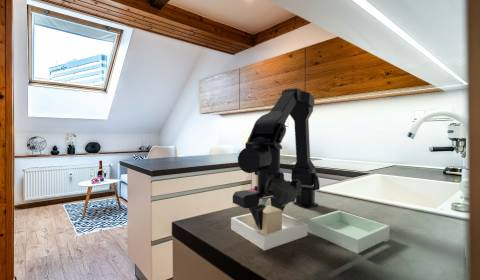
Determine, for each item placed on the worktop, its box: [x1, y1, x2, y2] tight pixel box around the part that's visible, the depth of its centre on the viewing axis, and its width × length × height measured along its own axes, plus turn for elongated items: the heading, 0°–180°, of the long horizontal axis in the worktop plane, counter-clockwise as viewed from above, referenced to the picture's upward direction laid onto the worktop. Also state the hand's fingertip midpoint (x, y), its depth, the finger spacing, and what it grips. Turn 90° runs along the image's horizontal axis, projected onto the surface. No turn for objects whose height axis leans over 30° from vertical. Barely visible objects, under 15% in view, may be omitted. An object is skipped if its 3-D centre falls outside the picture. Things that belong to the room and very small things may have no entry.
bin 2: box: [306, 210, 391, 254], centre depth 62 cm, size 14×14×4 cm
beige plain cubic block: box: [255, 204, 283, 235], centre depth 63 cm, size 5×5×6 cm
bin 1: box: [230, 212, 309, 251], centre depth 63 cm, size 14×14×4 cm
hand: (268, 227), depth 63 cm, fingers closed on beige plain cubic block, 5 cm apart
